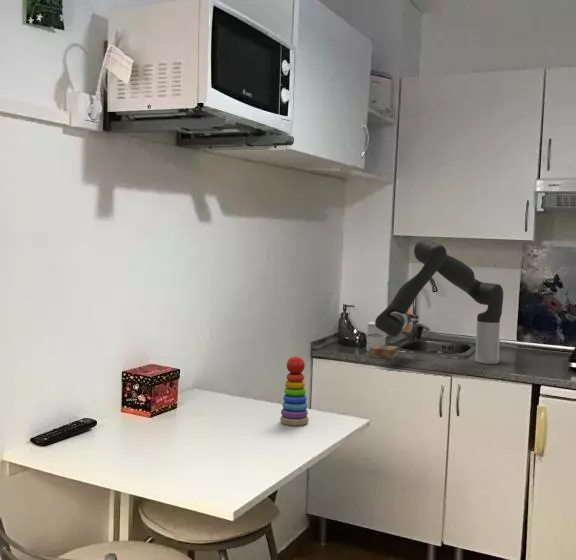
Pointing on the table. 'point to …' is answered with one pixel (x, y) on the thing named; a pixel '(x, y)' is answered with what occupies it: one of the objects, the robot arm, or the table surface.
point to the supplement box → (374, 336)
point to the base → (383, 352)
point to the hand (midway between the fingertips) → (407, 316)
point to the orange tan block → (409, 326)
